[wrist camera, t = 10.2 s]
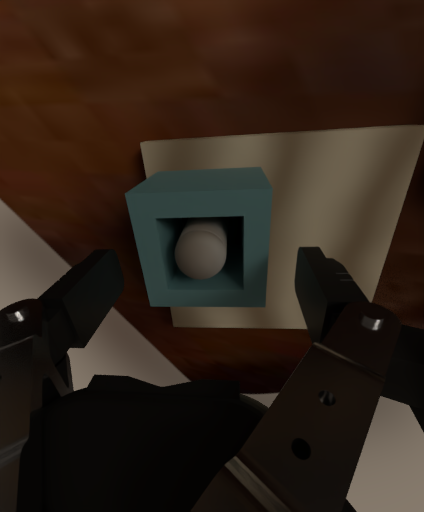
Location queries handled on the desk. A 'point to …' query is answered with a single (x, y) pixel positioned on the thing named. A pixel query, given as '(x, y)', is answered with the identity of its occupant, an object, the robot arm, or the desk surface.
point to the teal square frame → (203, 205)
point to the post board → (296, 209)
